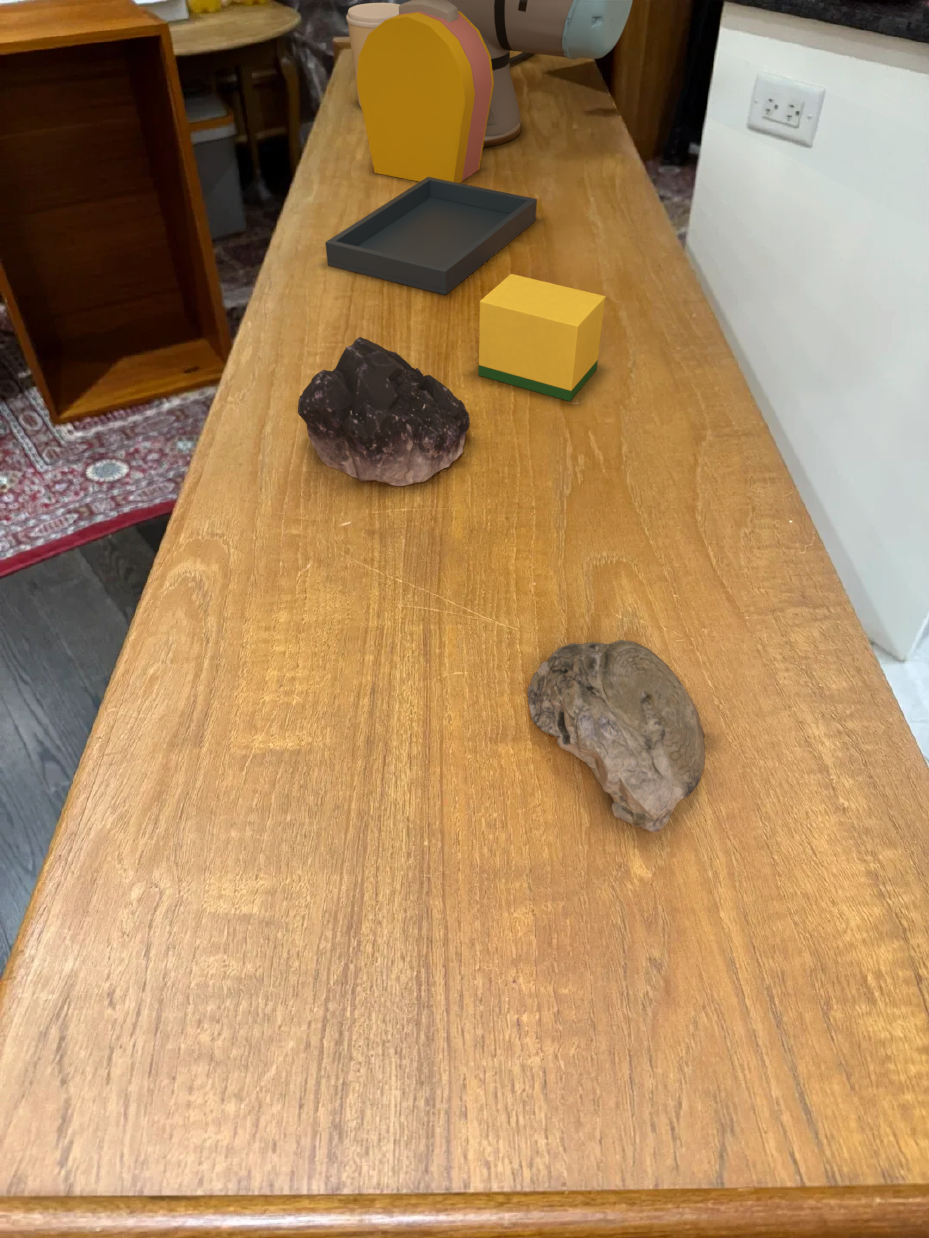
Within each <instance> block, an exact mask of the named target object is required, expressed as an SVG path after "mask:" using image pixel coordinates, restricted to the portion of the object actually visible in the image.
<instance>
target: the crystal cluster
mask: <svg viewBox="0 0 929 1238" xmlns="http://www.w3.org/2000/svg"><path fill="white" fill-rule="evenodd" d="M297 414H298V416H299V417H300V418H301V419H302V420H303V421H304V423H305V424H306V430H307V435H308V438H309V440H310V443H311V445H312V447H313V449H314V450H315V452H316V454H317V456H318V458H319V459H320V461H322V462H323V464H324V465H326V466H327V467H329V468H333V469H335V470H339V471H341V472H343V473H345V474H346V475H348V476H350V477H352V478H355V479H358V480H359V481H360V482H363V483H365V482H366V483H367V482H372V481H374V482H379V483H384V484H388V485H391V486H397V487H403V486H408V485H413V484H418V483H423V482H426V481H428V480H429V479H430V478H432V477H433V476H434V475H435V474H436V473H438V472H440V471H441V470H443V469H446V468H449V467H450V466H451V464H453V462H455V461H456V460H458V458H459V457H460V456H461V455H463V453H464V446H465V443H466V436H467V433H468V431H469V428H470V425H471V419H470V418H471V417H470V413H469V412H468V411H467V409H466V405H465V403H464V402H463V401H462V400H461V399H458V398H457V397H456V396H455V395H454V393H453V392H452V390H450V388H448V387H447V386H445V384H443V383H442V382H441V381H439V380H438V379H437V378H435V377H434V376H432V375H431V374H426V375H424V374H423V373H422V372H421V370H420V369H419V368H418V367H416V368H415V367H413V366H412V365H411V364H410V363H409V362H408V361H407V360H406V359H404V358H403V357H402V356H401V355H400V354H398V353H397V352H396V351H392V350H388V349H386V348H384V346H381V345H380V344H377V343H375V342H373V341H371V340H369V339H367V338H364V337H361V336H358V337H357V338H356V339H355V340H354V342H353V343H352V344H351V345H348V346H346V347H345V348H344V349H343V352H342V354H341V355H340V357H339V360H338V362H337V364H336V366H335V367H334V368H333V369H332V370H327V369H322V370H321V371H319V372H317V373H316V374H314V376H313V377H312V378H311V380H310V382H309V384H308V385H307V386H306V387H305V388H304V389H303V391H302V393H301V395H300V396H299V398H298V401H297Z"/></svg>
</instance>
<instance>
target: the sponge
mask: <svg viewBox="0 0 929 1238" xmlns="http://www.w3.org/2000/svg"><path fill="white" fill-rule="evenodd" d="M605 304H606V295H602V294H598V293H594V292H589V291H585V290H581V289H577V288H573V287H569V286H564V285H561V284H556V283H551V282H547V281H543V280H539V279H536V278H532V277H527V276H522V275H518V274H514V273H510V274H509V275H507V277H506V278H504V279H503V280H502V281H501V282H500V283H499V284H498V285H497V286H495V287H494V288H493V289H492V290H491V291H490V292H488V293H487V294H486V295H485V296H483V298H482V299H480V300H479V317H478V318H479V319H478V320H479V322H478V323H479V324H478V325H479V327H478V376H479V377H483V378H487V379H490V380H493V381H498V382H501V383H504V384H507V385H511V386H514V387H517V388H518V387H519V388H521V389H525V390H528V391H531V392H532V391H533V392H536V393H540V394H543V395H546V396H549V397H553V398H557V399H560V400H564V401H568V402H571V401H572V400H573V399H574V398H575V396H576V395H577V394H578V393H579V391H581V389H582V388H583V387H584V386H585V385H586V383H587V382H589V380H590V379H591V378H592V376H593V375H594V374H595V373H596V371H597V370H598V362H599V353H600V346H601V338H602V337H601V336H602V328H603V320H604V314H605V313H604V311H605Z"/></svg>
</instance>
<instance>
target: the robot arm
mask: <svg viewBox="0 0 929 1238" xmlns="http://www.w3.org/2000/svg"><path fill="white" fill-rule="evenodd" d="M446 1H448V2H450V3H452V4H453V5H454V6H456V7H457V9H458V11H460V12H461V13H462V14H463V15H464V16H465V17H466V18H467V19H468V20H469V21H470V22H471V23H472V24H473V25H474V26H475V27H476V28H477V29H478V30H479V32H480V34H481V36H482V38H483V40H484V43H485V45H486V47H487V49H488V51H489V53H490V56H491V63H492V71H493V78H494V87H493V92H492V97H491V103H490V108H489V114H488V120H487V126H486V132H485V138H484V144H483V148H485V147H492V146H496V145H501V144H505V143H508V142H510V141H512V140H514V139H515V138H517V137H518V136H519V135H520V132H521V121H522V120H521V112H520V108H519V107H520V106H519V103H518V99H517V94H516V91H515V86H514V83H513V78H512V74H511V67H510V66H511V65H513V64H516V63H519V62H521V61H523V60H524V59H527V58H528V57H530V56H532V55H533V54H534V55H535V54H536V55H544V56H551V57H560V58H566V59H569V60H573V61H574V60H579V59H587V60H599V59H602V58H604V57H605V56H606V55H608V54H609V53H610V52H611V51H612V50H613V49H614V47H615V46H616V45H617V43H618V42H619V40H620V38H621V36H622V34H623V31H624V29H625V26H626V25H627V21H628V18H629V16H630V12H631V9H632V5H633V0H446ZM511 51H512V52H517V54H516V55H514V56H511ZM518 52H519V53H518Z"/></svg>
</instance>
